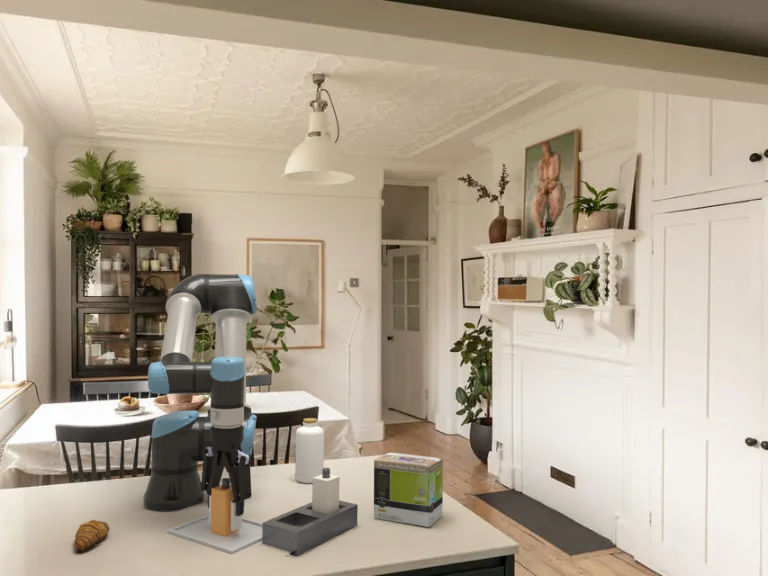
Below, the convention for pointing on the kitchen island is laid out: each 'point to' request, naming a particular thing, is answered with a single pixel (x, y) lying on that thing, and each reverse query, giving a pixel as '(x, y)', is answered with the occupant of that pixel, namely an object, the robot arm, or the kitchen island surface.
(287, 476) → the kitchen island surface
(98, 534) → the croissant
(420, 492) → the tea box
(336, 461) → the kitchen island surface
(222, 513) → the orange square bottle
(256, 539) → the tray
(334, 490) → the white square bottle
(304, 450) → the white bottle
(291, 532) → the grey bottle rack
